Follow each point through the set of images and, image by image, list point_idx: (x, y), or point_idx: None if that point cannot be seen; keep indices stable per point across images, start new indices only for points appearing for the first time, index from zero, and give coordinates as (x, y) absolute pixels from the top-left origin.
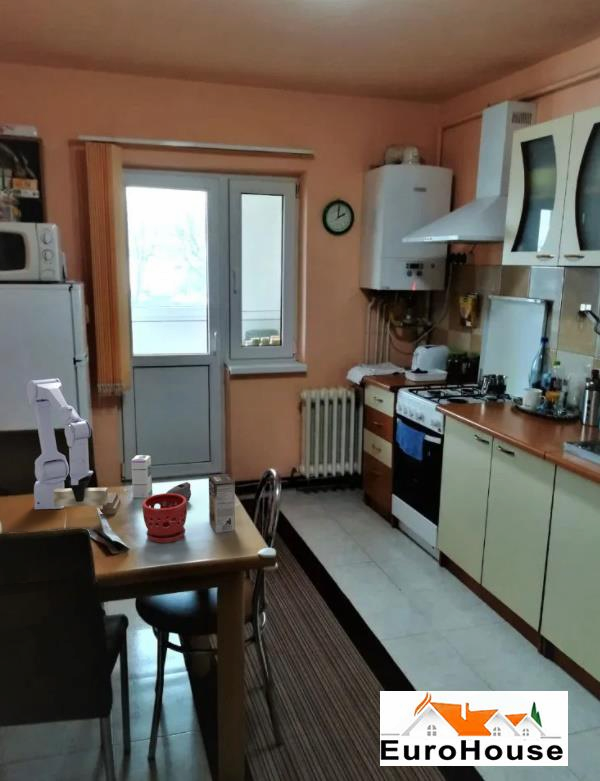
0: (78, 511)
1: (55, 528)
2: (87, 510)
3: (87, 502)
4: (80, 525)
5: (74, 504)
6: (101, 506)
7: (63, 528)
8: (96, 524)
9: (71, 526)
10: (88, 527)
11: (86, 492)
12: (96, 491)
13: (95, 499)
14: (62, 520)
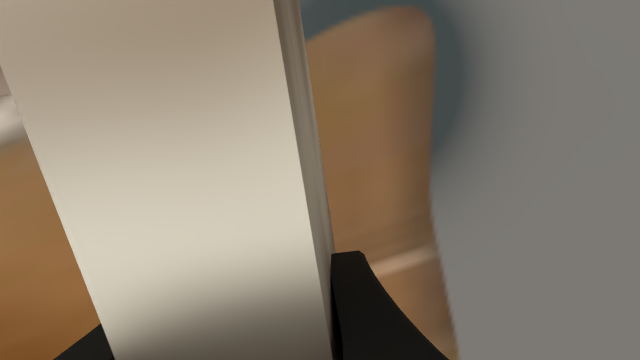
0: (80, 277)
1: (437, 312)
2: (38, 218)
3: (321, 185)
4: (378, 158)
5: None
6: (3, 91)
7: (439, 261)
8: (351, 20)
9: (399, 220)
10: (425, 72)
11: (322, 286)
12: (286, 67)
13: (303, 70)
14: None
